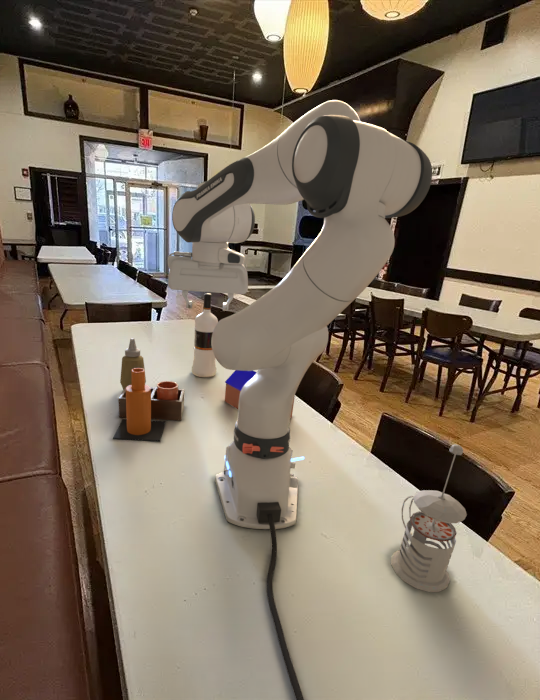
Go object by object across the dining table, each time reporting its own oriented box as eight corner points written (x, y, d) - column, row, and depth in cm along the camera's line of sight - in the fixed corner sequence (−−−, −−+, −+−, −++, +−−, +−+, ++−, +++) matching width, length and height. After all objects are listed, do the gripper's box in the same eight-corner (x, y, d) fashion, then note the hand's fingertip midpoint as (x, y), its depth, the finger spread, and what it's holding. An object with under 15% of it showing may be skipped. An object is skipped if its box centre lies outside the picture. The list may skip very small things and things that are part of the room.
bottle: (148, 435, 108) (148, 375, 102) (124, 434, 108) (122, 373, 102) (152, 424, 114) (152, 366, 108) (129, 423, 114) (128, 365, 107)
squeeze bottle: (149, 388, 138) (149, 336, 132) (141, 398, 131) (140, 343, 124) (125, 386, 139) (124, 334, 132) (116, 395, 131) (114, 340, 125)
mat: (159, 441, 107) (159, 440, 107) (112, 439, 106) (112, 437, 106) (165, 422, 117) (165, 420, 117) (122, 419, 116) (122, 418, 116)
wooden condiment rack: (181, 420, 118) (181, 401, 116) (119, 417, 117) (118, 398, 115) (184, 407, 127) (184, 389, 125) (126, 404, 126) (125, 385, 124)
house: (264, 426, 119) (268, 389, 115) (223, 401, 133) (225, 367, 129) (293, 417, 126) (298, 381, 122) (251, 394, 141) (254, 361, 136)
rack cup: (176, 418, 120) (177, 389, 117) (155, 416, 120) (155, 388, 116) (178, 409, 125) (179, 381, 122) (158, 408, 125) (158, 380, 122)
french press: (414, 597, 67) (455, 465, 58) (374, 545, 77) (403, 427, 68) (463, 586, 70) (509, 459, 61) (417, 538, 80) (451, 423, 71)
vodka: (210, 379, 150) (214, 297, 139) (187, 375, 153) (189, 293, 142) (219, 372, 158) (224, 293, 147) (198, 367, 161) (201, 290, 150)
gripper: (166, 251, 99) (165, 309, 104) (251, 257, 100) (246, 314, 105) (169, 249, 105) (168, 304, 110) (249, 255, 106) (245, 309, 111)
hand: (207, 309), depth 108 cm, fingers open, 8 cm apart
